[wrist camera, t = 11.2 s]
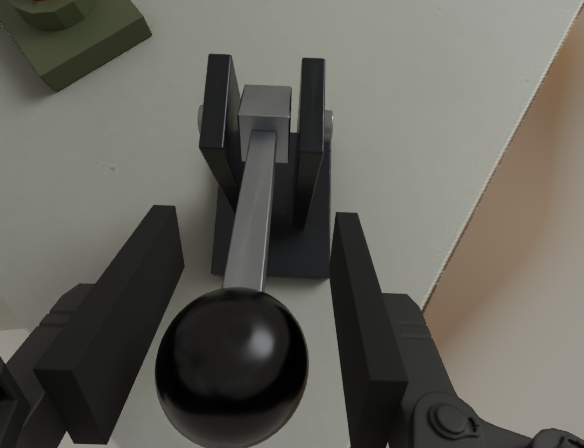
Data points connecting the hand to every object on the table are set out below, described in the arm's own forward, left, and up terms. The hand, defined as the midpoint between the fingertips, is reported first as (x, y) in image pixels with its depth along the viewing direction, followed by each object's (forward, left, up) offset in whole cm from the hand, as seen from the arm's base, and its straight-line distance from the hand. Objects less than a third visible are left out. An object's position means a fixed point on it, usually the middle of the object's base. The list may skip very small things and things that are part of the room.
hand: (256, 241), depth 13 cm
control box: (-31, 0, -15) cm, 34 cm away
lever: (0, 0, -1) cm, 1 cm away
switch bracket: (-5, +4, -15) cm, 16 cm away
